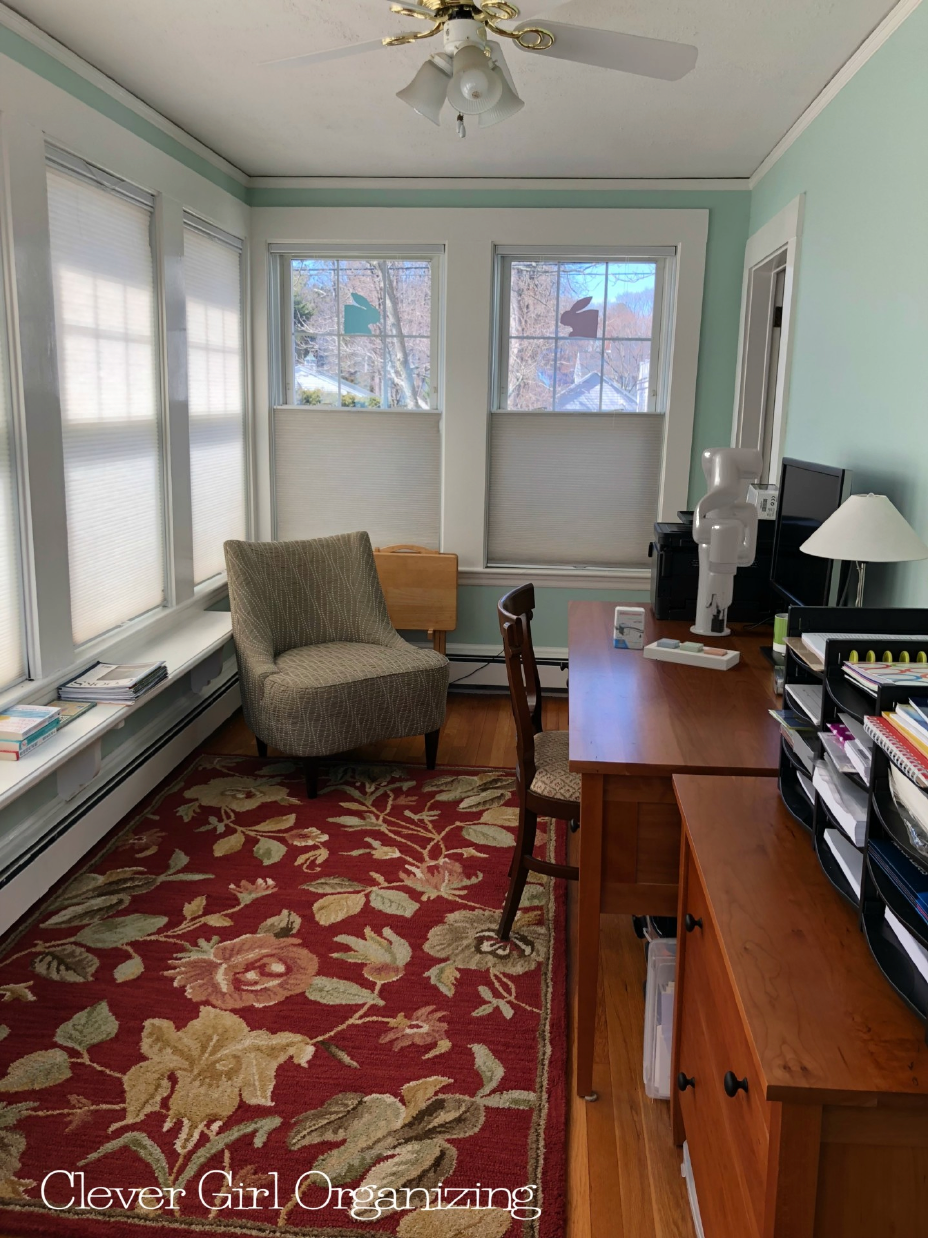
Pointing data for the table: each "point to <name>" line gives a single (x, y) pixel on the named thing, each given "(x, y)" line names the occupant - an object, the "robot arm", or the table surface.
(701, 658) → the button panel
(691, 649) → the sage button
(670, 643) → the slate button
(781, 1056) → the table surface
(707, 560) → the robot arm
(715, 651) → the terracotta button
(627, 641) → the ink box
